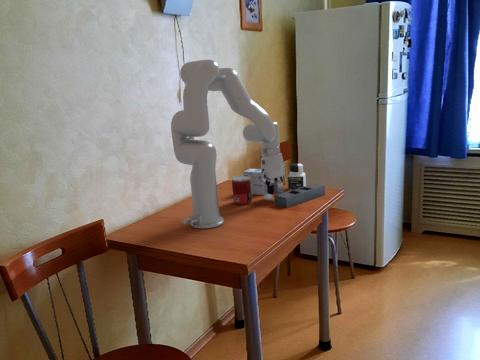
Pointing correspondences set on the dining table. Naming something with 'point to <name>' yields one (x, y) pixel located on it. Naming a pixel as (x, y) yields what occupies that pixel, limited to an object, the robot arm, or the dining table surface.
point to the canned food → (241, 190)
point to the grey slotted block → (299, 195)
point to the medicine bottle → (296, 177)
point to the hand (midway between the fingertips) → (273, 192)
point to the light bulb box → (255, 181)
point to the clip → (276, 189)
